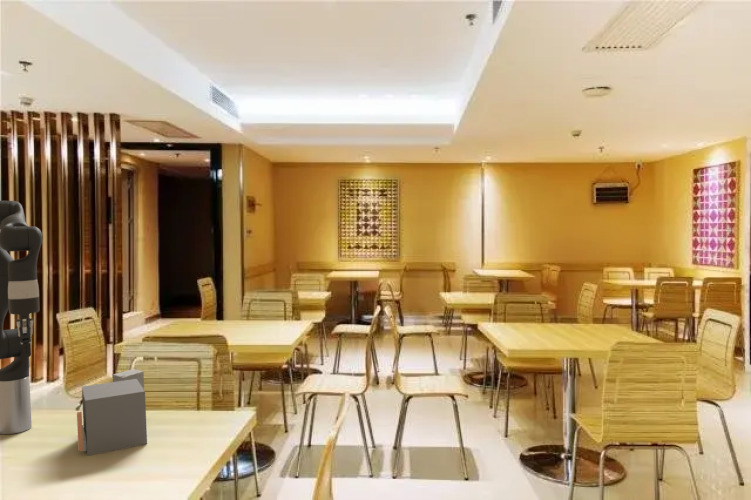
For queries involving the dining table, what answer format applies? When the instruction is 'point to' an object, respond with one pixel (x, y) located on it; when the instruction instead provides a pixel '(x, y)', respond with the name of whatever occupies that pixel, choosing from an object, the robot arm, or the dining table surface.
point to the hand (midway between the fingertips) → (26, 356)
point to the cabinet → (114, 416)
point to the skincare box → (130, 376)
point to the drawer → (81, 433)
